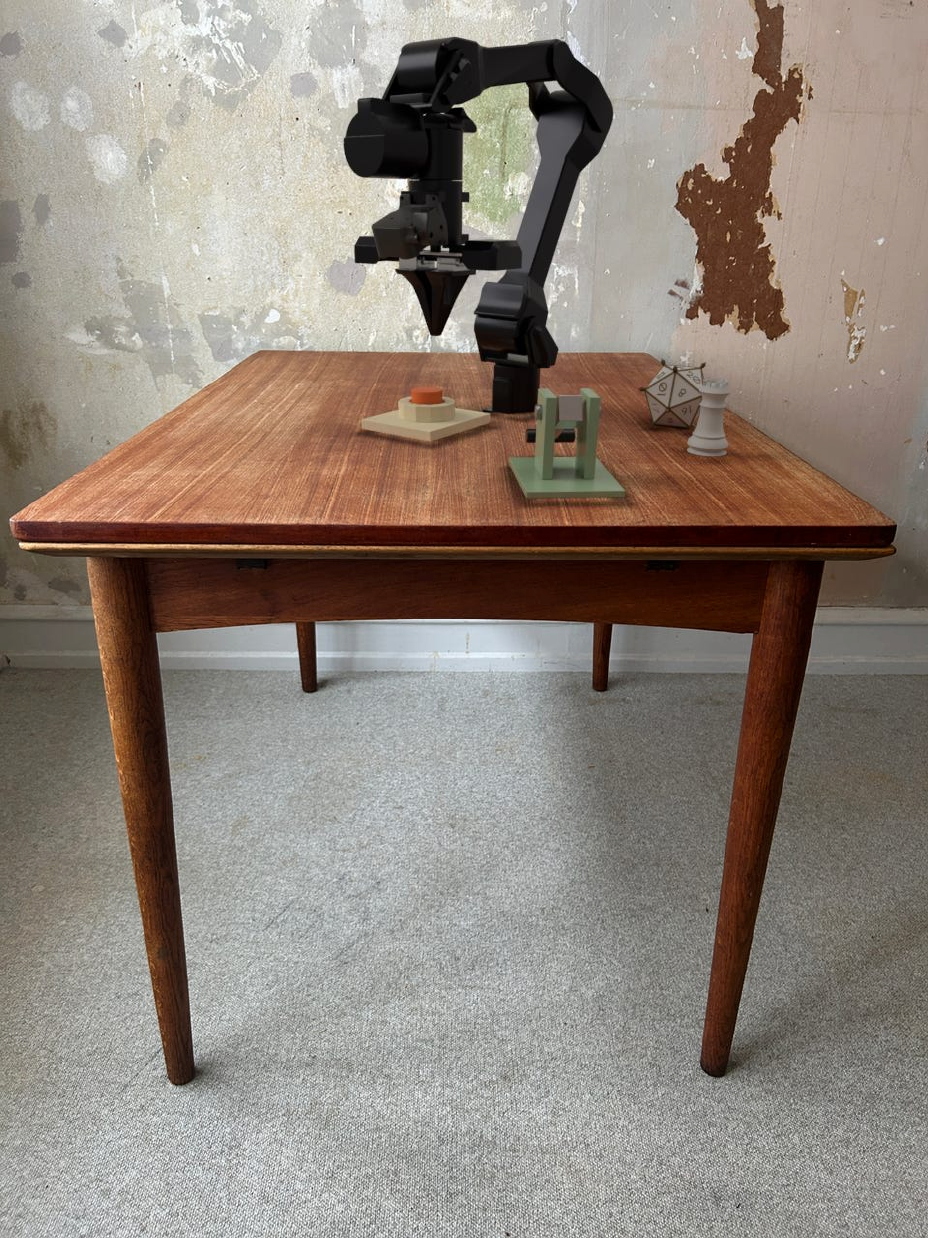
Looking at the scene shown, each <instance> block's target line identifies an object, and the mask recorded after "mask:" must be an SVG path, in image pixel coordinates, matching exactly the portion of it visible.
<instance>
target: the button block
mask: <svg viewBox="0 0 928 1238" xmlns="http://www.w3.org/2000/svg"><path fill="white" fill-rule="evenodd" d="M397 405H398V409H396V410H392V411H388V412H384V413H381V414H376V415H373V416H369V417H365V418H362V419H361V420H360V421H361V429H362V430H367V431H371V432H378V433H381V434H382V433H383V434H388V435H393V436H399V437H404V438H408V439H414V440H420V441H426V442H433V441H437V440H439V439H442V438H446V437H449V436H453V435H456V434H459V433H462V432H466V431H469V430H471V429H475V428H478V427H481V426H485V425H487V424H490V423H491V413H484V412H482V411H477V410H471V409H465V408H458V407H456V400H455V399H453V398H451V397H448V396H442V403H441V404H432V405H424V404H414V403H412V395H410V396H405V397H403V398H402V397H401V398H400V399H399V400H398V403H397Z"/></svg>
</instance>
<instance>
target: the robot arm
mask: <svg viewBox="0 0 928 1238" xmlns="http://www.w3.org/2000/svg"><path fill="white" fill-rule="evenodd" d="M549 82H550V83H551V82H557V84H558V86H559V87H560V88H561V89H559V90H554V91H552V92H550V91H549V89H548V87H547V86H546V84H545V83H549ZM517 84H525V85H526V86H527V87H528V109H529V111H530V112H531V114H532V115H533V117H534V119H535V120H536V122H537V127H536V133H535V137H536V142H537V146H538V151H539V154H540V162H539V166H538V168H537V172H536V175H535V177H534V181H533V183H532V187H531V190H530V194H529V197H528V199H527V202H526V207H525V209H524V213H523V216H522V219H521V221H520V226H519V228H518V232H517V235H516V238H515V239H495V238H493V239H492V238H484V239H470V234H469V233H463V203H470V191H463V187H464V183H463V182H464V181H463V180H464V179H463V177H464V176H463V175H464V135H465V134H475V133H476V132H477V131H478V127H477V124H476V123H475V122H474V121H473V119H472V118H470V117H469V115H468V114H467V112H466V110H465V108H464V107H463V106H457V105H463V104H466V103H467V102H469V101H471V100H474V99H476V98H478V97H480V96H482V93H483V92H484V91H485V90H488V89H490V88H495V87H503V86H510V85H517ZM607 93H608V92H607V91H606V89H605V87H604V85H603V84H602V82H601V80H600V78H599V77H598V75H597V74H596V73H594V72H593V71H592V70H591V69H589V68H588V67H586V65H584V64H583V63H582V62H581V61H580V60H578V59H577V58H576V57H575V56H574V54H573V51H572V50H571V47H570V46H569V44H568V43H567V42H566V41H564V40H561V39H559V38H551V39H543V40H536V41H534V40H533V41H530V42H528V43H523V44H511V45H501V46H491V47H490V46H489V47H488V46H485V45H484V46H483V45H481V44H479V43H478V42H477V41H475V40H472V39H468V38H463V37H459V36H449V37H442V38H434V39H426V40H419V41H412V42H409V43H406V44H404V45H403V46H402V47H401V48H400V54H399V56H398V61H397V65H396V67H395V69H394V71H393V73H392V75H391V77H390V79H389V82H388V83H387V86H386V88H385V90H384V92H383V95H382V97H381V98H379V97H373V96H372V97H360V98H357V100H356V101H357V102H356V103H357V104H356V105H357V107H356V108H357V112H356V113H355V114H354V116H352V117H351V119H350V121H349V123H348V125H347V128H346V131H345V137H344V138H343V153H344V157H345V161H346V163H347V165H348V167H349V169H350V170H351V171H352V173H354V174H355V175H356V176H357V177H360V178H363V179H383V180H384V179H386V180H387V179H388V180H407V181H408V182H407V183H408V185H407V187H408V188H407V189H408V190H401V191H400V195H399V198H398V200H399V201H398V202H399V205H398V209H396V210H393V211H391V212H389V213H388V214H386V215H385V216H382V217H381V218H380V219H378V220H377V221H376V222H373V224H371V227H370V228H371V231H372V235H359V236H358V238H357V239H356V241H355V243H354V245H353V258H354V262H353V263H355V264H363V265H364V264H365V265H377V264H378V263H379V262H396V263H397V262H398V268H395V269H394V270H395V273H396V274H397V275H402V277H404V278H405V280H407V282H408V283H409V284H410V285H411V287H412V289H413V291H414V293H415V295H416V297H417V300H418V304H419V306H420V309H421V312H422V314H423V318H424V320H425V323H426V327H427V329H428V332H429V335H430V337H431V336H432V337H441V336H442V335H443V332H444V330H445V327H446V325H447V322H448V320H449V318H450V316H451V313H452V311H453V308H454V306H455V304H456V302H457V300H458V297H459V296H460V294H461V292H462V290H463V288H464V287H465V285H466V283H467V281H468V279H469V278H470V276H476V275H477V271H485V272H498V271H505V272H504V274H503V276H502V277H501V278H500V279H499V280H498V281H496V282H495V281H485V283H484V284H483V286H482V288H481V292H480V298H479V302H478V303H477V306H476V308H475V309H474V311H473V315H475V318H474V322H473V333H474V336H475V341H476V345H477V349H478V350H477V351H478V354H479V359H480V362H482V363H491V364H492V363H493V373H492V374H493V376H492V387H491V388H492V389H491V390H492V391H491V393H492V394H491V405H490V406H487V407H484V408H482V410H481V412H484V413H490V414H491V413H492V414H493V413H500V414H506V415H510V414H512V415H516V414H528V413H535V405H538V389H539V388H541V371H542V370H541V369H551V367H553V366H555V365H556V362H557V358H558V355H559V346H558V345H557V343H556V342H555V340H554V337H553V336H552V334H551V332H550V331H549V329H548V328H547V321H548V317H549V307H548V303H547V298H546V294H545V290H544V289H545V284H546V281H547V277H548V274H549V271H550V269H551V265H552V261H553V259H554V255H555V252H556V250H557V246H558V244H559V239H560V237H561V233H562V231H563V227H564V224H565V222H566V218H567V215H568V212H569V208H570V206H571V203H572V199H573V195H574V193H575V189H576V186H577V184H578V180H579V177H580V174H581V173H582V171H584V170H585V168H586V167H588V166H589V164H590V163H591V162H592V161H593V160H594V159H595V158H596V157H597V156H598V155H599V154H600V152H601V150H602V148H603V146H604V144H605V141H606V140H607V137H608V135H609V132H610V130H611V128H612V124H613V120H614V106H613V104H612V101H611V99H610V96H609V95H608V94H607ZM454 106H456V107H454ZM428 247H429V249H427V248H428ZM443 249H445V250H443ZM446 249H448V250H446Z"/></svg>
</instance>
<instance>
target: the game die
mask: <svg viewBox="0 0 928 1238" xmlns="http://www.w3.org/2000/svg"><path fill="white" fill-rule="evenodd" d="M660 363H661V365H662V367H661V368H660V369H659V370H658V372H657V373H656V374H655V376H654V377H653V378H652V379H651V380H650V382H649V383H648V384H647V385H646V386H645V387H644V386H640V387H637V390H638V391H639V392H644V396H645V399H646V402H647V406H648V410H649V413H650V417H651V420H652V421H651V422H652V423H650V426H665V427H676V428H685V429H689V430H693V429H694V428H693V427H692V426H693V425H694V424H695V423H696V421H698V419H699V415H700V408H701V407H700V405H699V404H700V403H701V401H702V395H701V393H700V391H699V389H700V388H701V386H702V385H703V380H704V381H705V377H704V373H703V369H705V367H706V365H707V362H706V361H704V362H701V364H700V366H688V365H687V366H686V365H674V364H666V360H665V359H663V358H661V360H660Z"/></svg>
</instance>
